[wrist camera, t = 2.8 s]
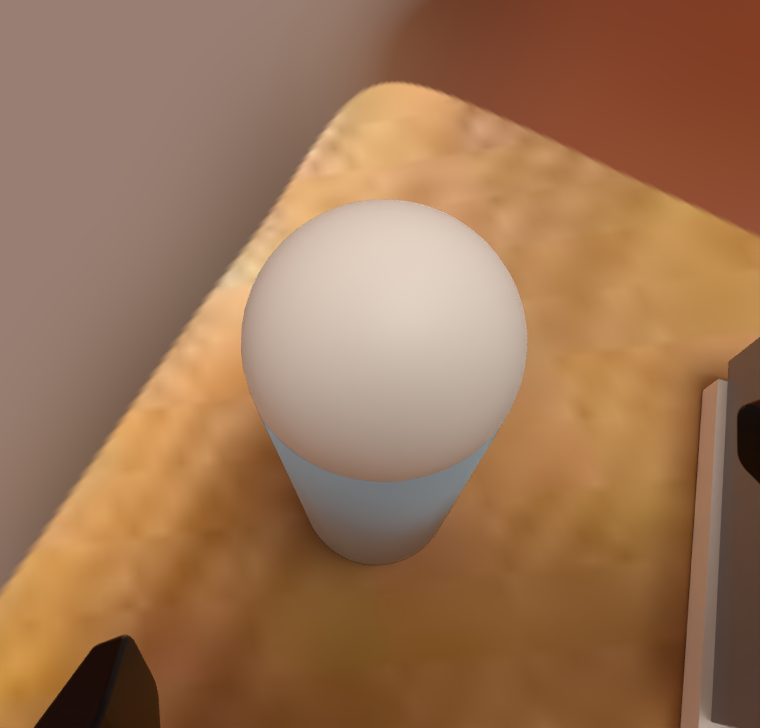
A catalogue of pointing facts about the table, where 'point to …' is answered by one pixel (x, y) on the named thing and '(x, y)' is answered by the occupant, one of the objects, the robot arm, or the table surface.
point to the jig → (724, 564)
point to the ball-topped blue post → (382, 368)
